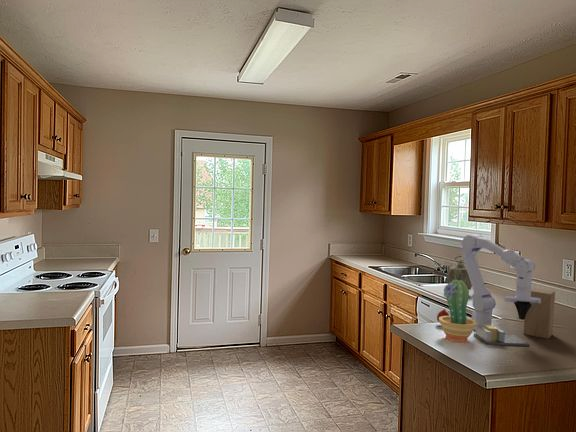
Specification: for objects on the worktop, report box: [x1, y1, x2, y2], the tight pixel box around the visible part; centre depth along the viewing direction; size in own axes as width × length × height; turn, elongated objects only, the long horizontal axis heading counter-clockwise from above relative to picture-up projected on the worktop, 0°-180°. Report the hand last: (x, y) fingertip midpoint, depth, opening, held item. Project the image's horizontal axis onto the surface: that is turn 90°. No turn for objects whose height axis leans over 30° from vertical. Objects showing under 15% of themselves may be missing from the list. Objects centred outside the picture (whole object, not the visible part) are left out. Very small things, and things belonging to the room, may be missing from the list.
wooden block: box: [523, 287, 556, 340], centre depth 204 cm, size 10×10×20 cm
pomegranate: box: [436, 308, 450, 325], centre depth 213 cm, size 6×6×8 cm
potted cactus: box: [438, 280, 477, 343], centre depth 192 cm, size 15×15×25 cm
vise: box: [473, 325, 530, 347], centre depth 192 cm, size 12×18×5 cm, turn 91°
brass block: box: [483, 325, 499, 341], centre depth 192 cm, size 6×4×5 cm, turn 1°
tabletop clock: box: [446, 255, 473, 291], centre depth 289 cm, size 14×9×25 cm, turn 82°
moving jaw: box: [493, 325, 506, 342], centre depth 192 cm, size 10×2×4 cm, turn 1°
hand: (521, 319), depth 193 cm, fingers closed
